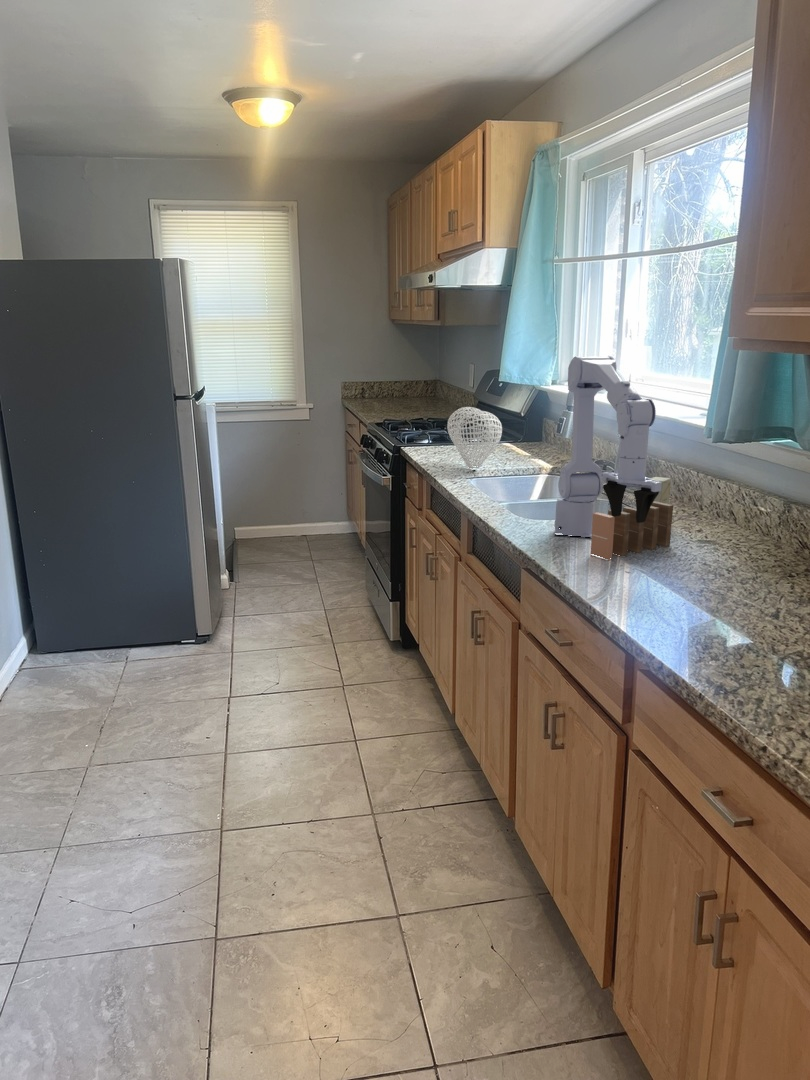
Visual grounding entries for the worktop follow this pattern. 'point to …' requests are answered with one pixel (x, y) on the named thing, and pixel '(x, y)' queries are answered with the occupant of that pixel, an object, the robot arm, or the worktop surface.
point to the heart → (458, 438)
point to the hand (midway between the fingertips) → (628, 519)
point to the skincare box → (663, 490)
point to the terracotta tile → (602, 535)
